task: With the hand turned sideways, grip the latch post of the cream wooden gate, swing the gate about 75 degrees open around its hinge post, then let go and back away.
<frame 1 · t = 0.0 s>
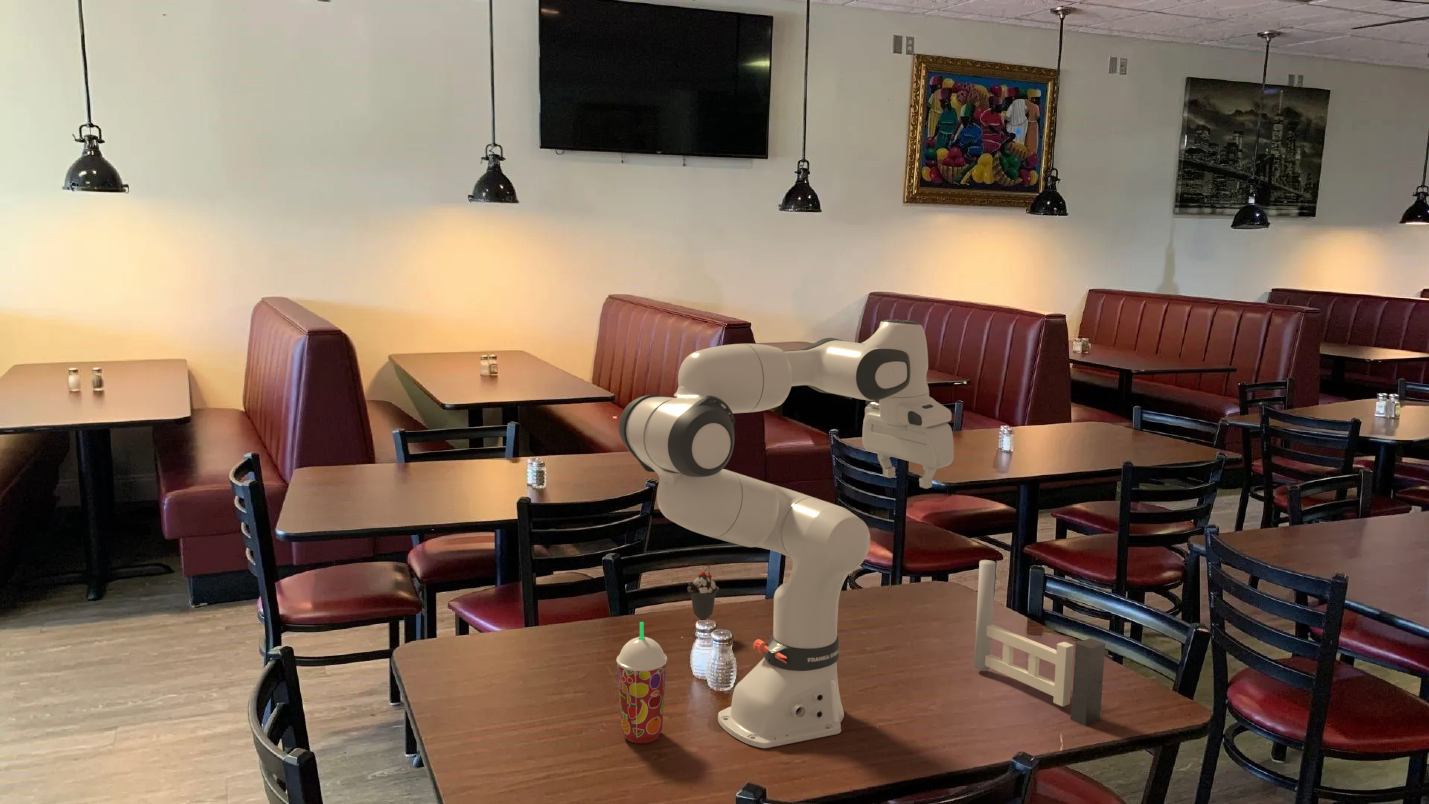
hand: (907, 482, 190), 39 cm above the table, tool pointing down, fingers open, 8 cm apart
smoothie: (642, 737, 175), on the table
hinge post: (1085, 719, 182), on the table
gate: (1022, 630, 192), point 12 cm above the table, hinge at 0.0°
sundae: (703, 635, 219), on the table
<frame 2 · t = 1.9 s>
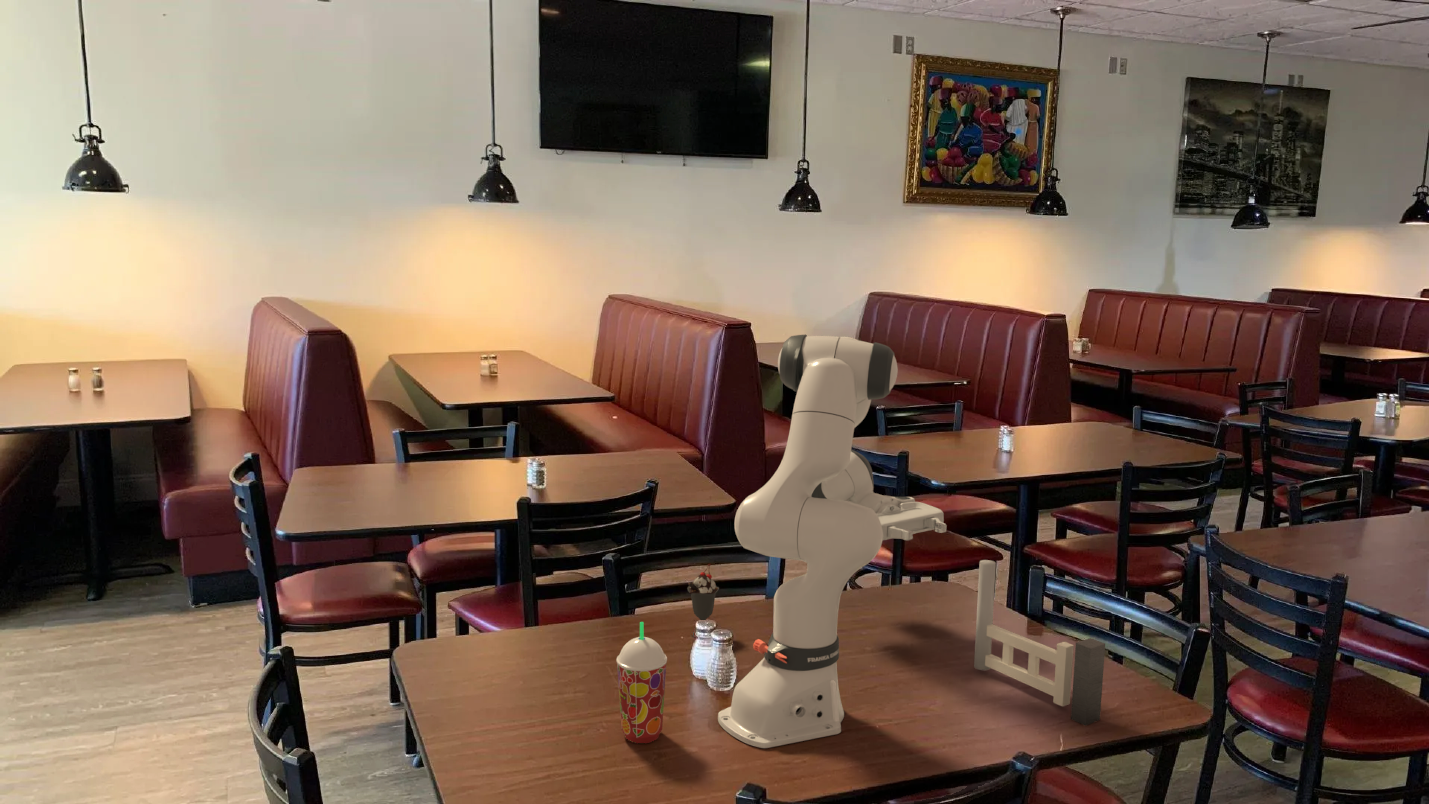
hand: (927, 532, 211), 24 cm above the table, tool horizontal, fingers open, 8 cm apart
nothing on the table moved.
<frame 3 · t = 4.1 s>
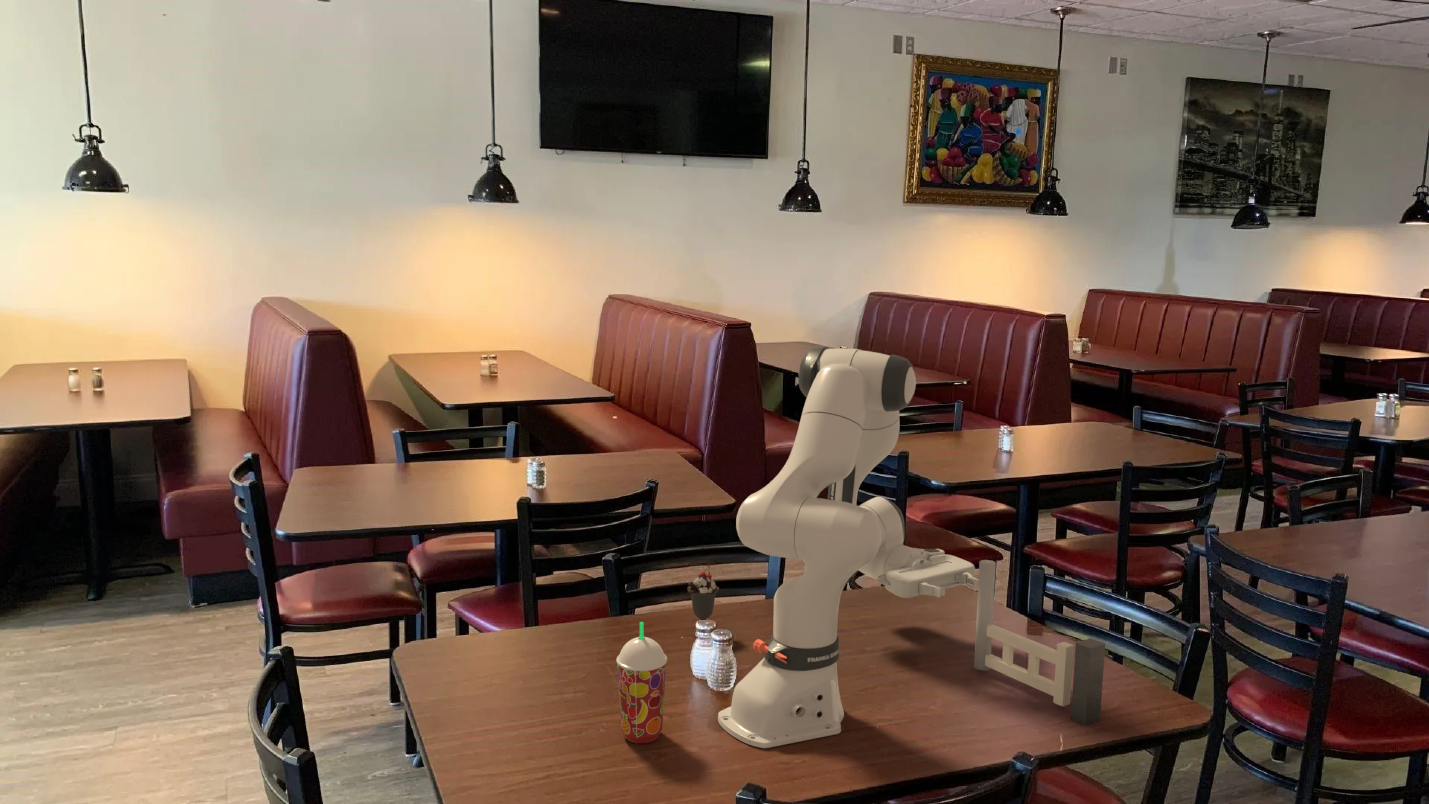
hand: (959, 588, 204), 15 cm above the table, tool horizontal, fingers open, 8 cm apart
nothing on the table moved.
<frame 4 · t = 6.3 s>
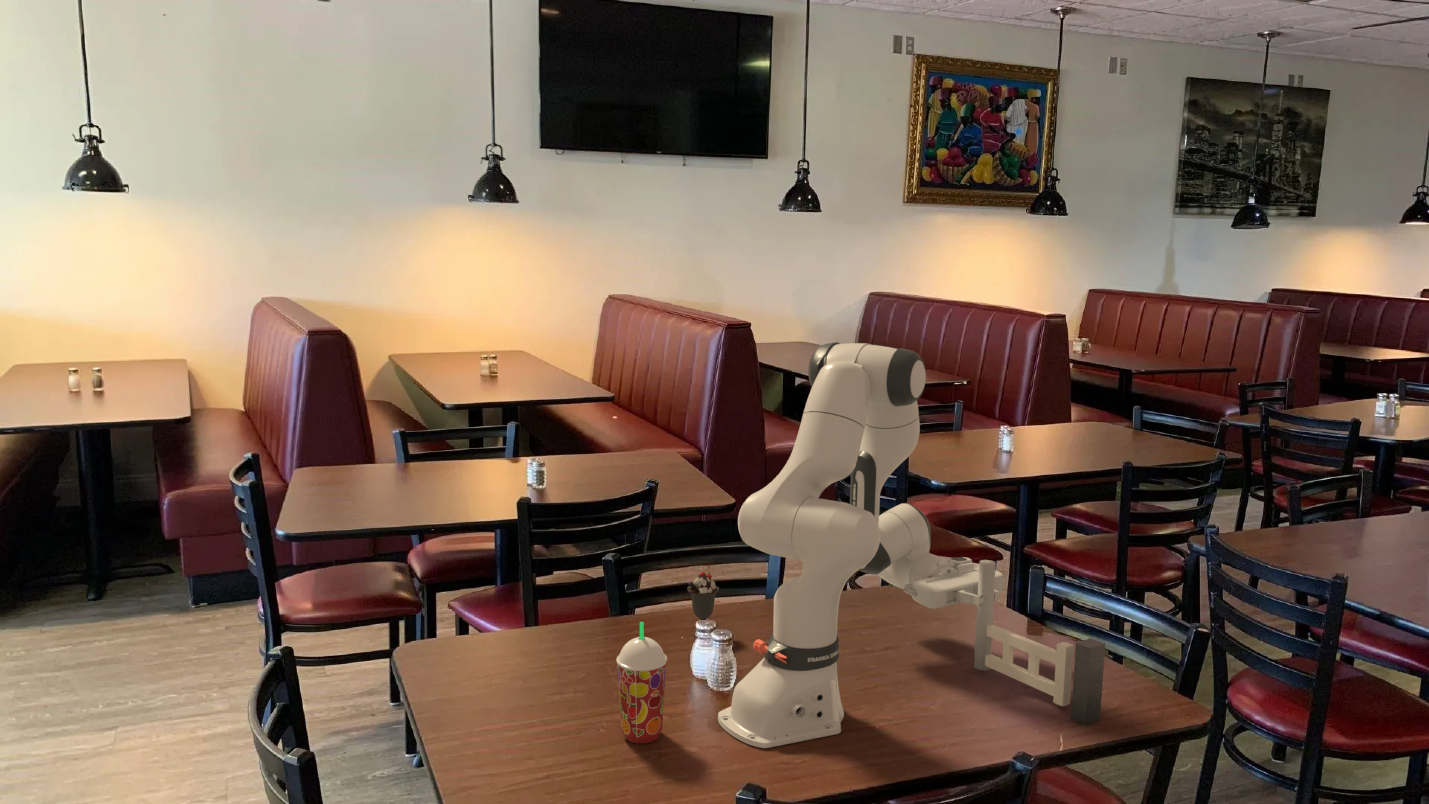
hand: (989, 599, 198), 15 cm above the table, tool horizontal, fingers closed on gate, 3 cm apart
gate: (1022, 630, 192), point 12 cm above the table, hinge at 0.0°, touching gripper
everything else where it was.
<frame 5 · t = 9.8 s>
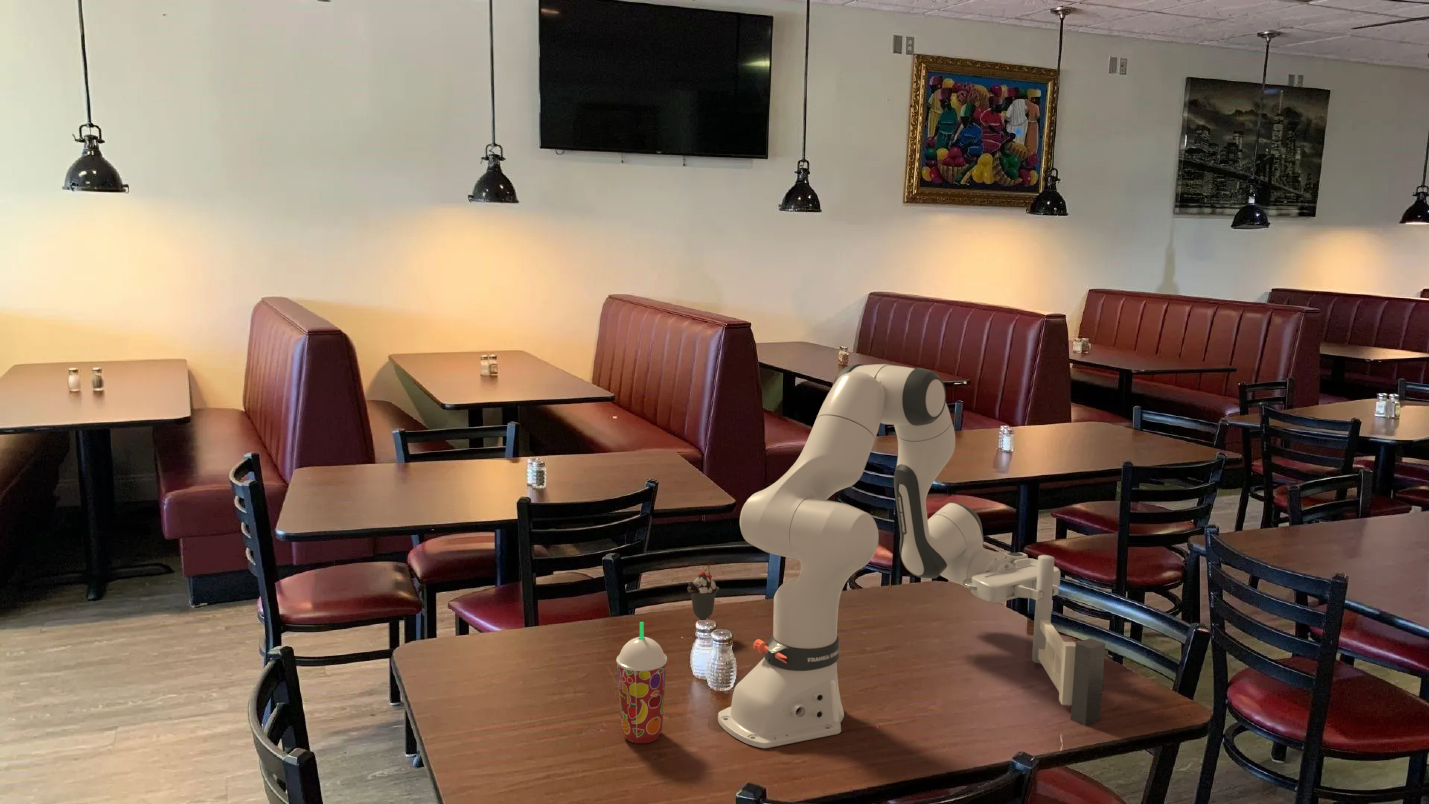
hand: (1048, 593, 202), 15 cm above the table, tool horizontal, fingers open, 3 cm apart
gate: (1055, 626, 194), point 12 cm above the table, hinge at 36.9°, touching gripper
everything else where it was.
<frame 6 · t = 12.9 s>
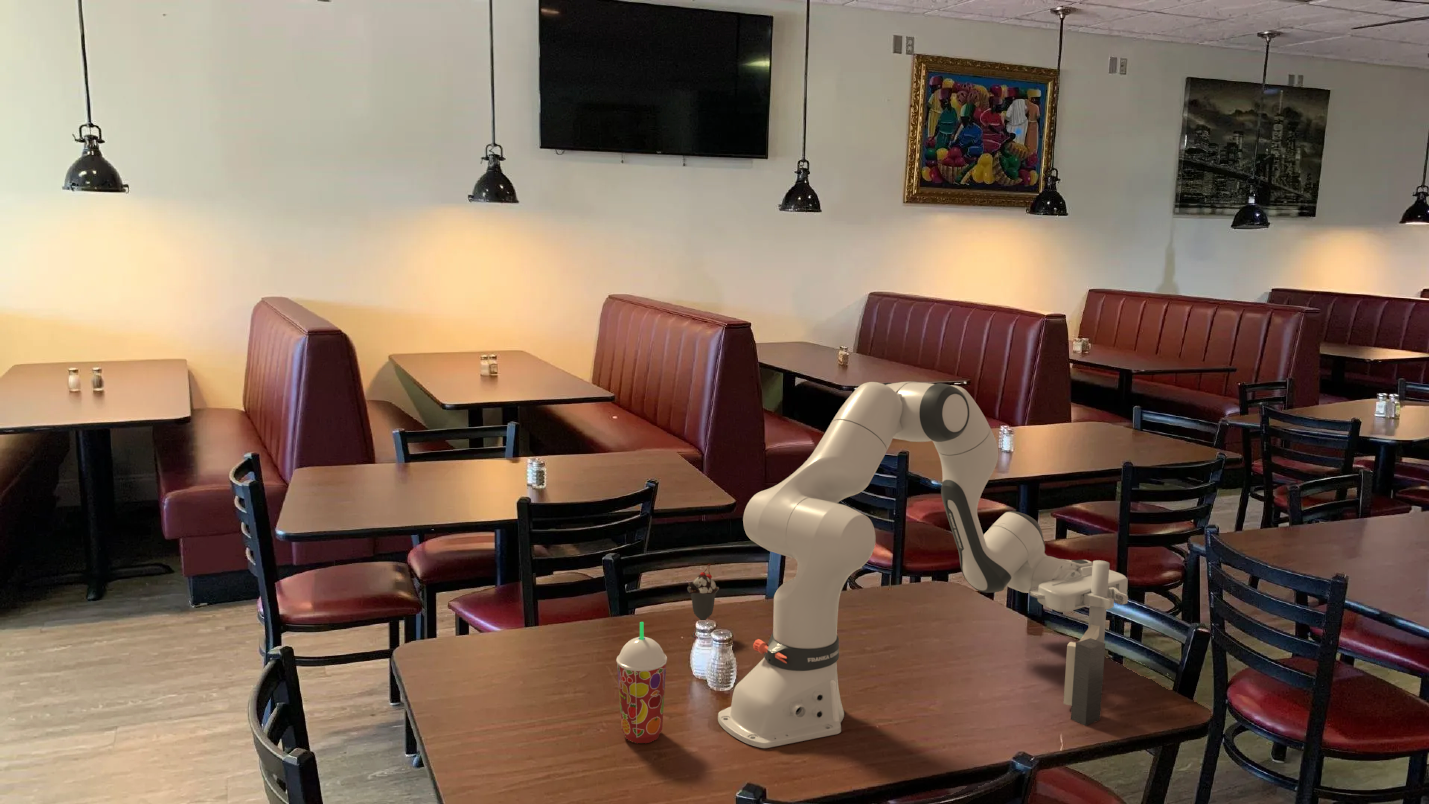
hand: (1118, 602, 197), 15 cm above the table, tool horizontal, fingers open, 3 cm apart
gate: (1086, 630, 192), point 12 cm above the table, hinge at 65.7°, touching gripper
everything else where it was.
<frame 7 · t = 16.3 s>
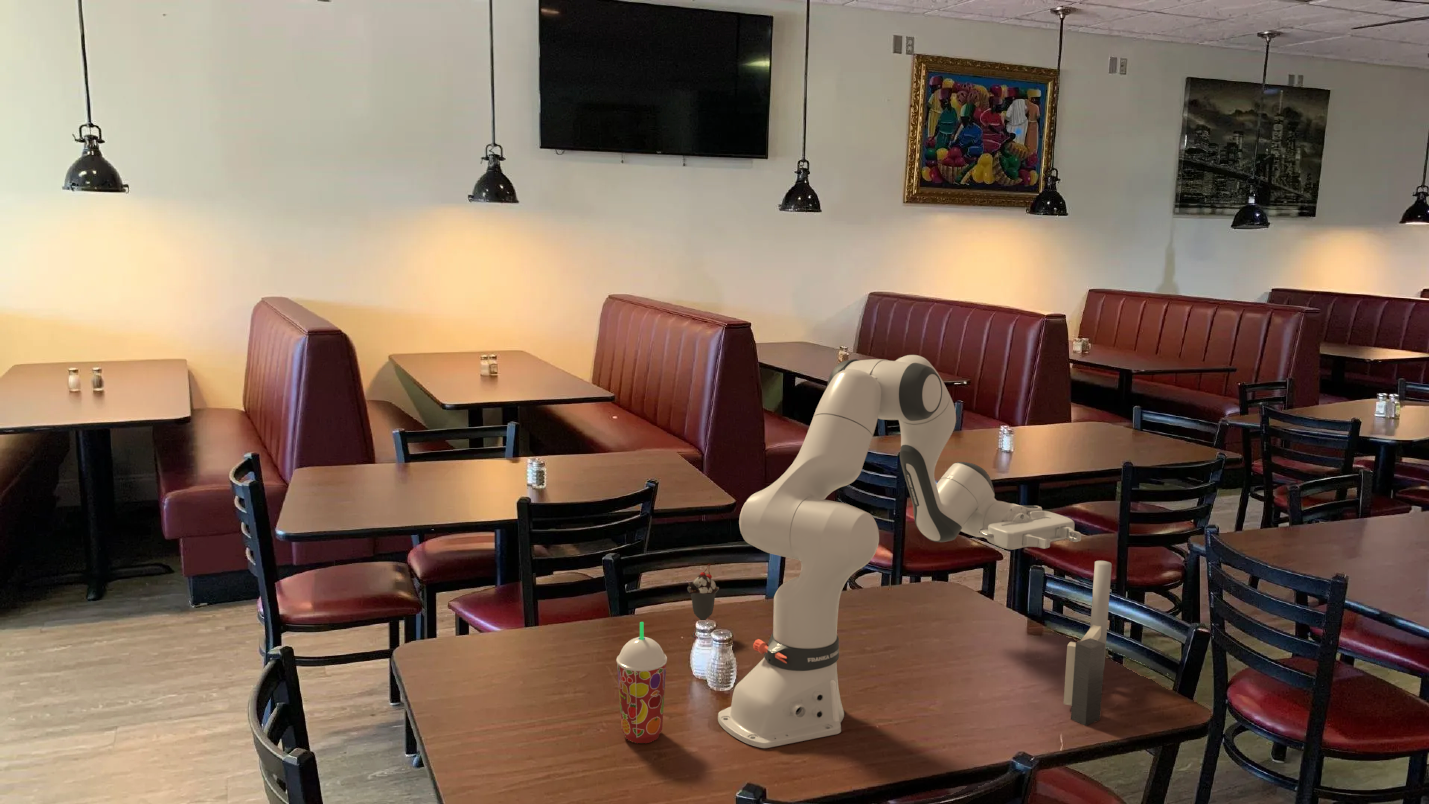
hand: (1063, 541, 206), 24 cm above the table, tool horizontal, fingers open, 8 cm apart
gate: (1087, 630, 192), point 12 cm above the table, hinge at 66.7°
everything else where it was.
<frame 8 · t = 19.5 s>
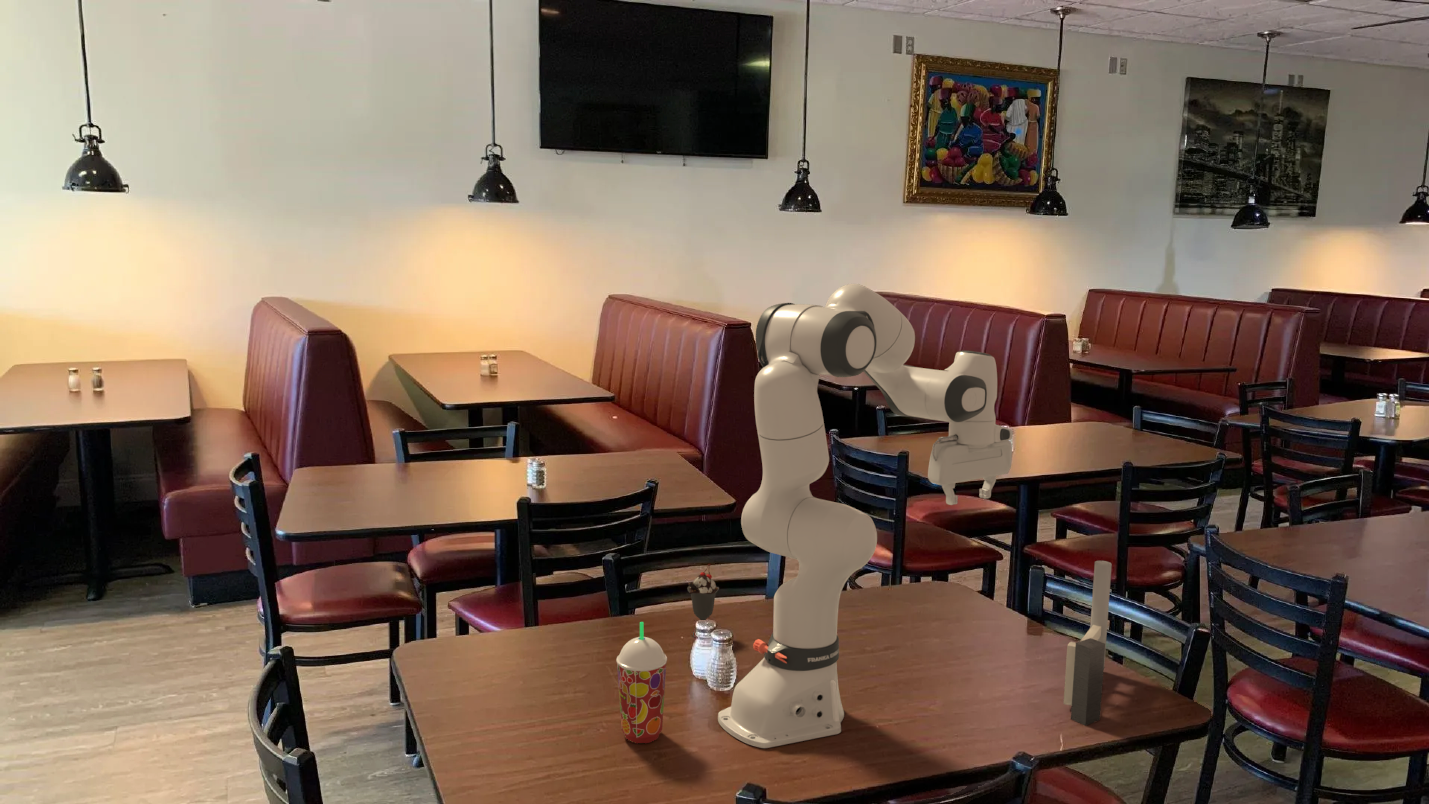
hand: (968, 500, 207), 31 cm above the table, tool pointing down, fingers open, 8 cm apart
nothing on the table moved.
at the end: gate at +67° (first picture: +0°); the gripper is holding nothing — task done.
